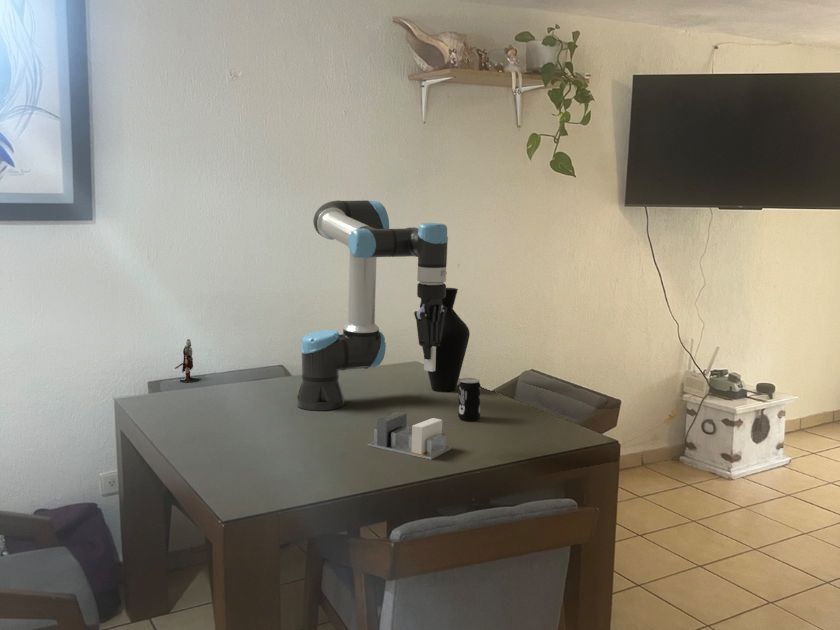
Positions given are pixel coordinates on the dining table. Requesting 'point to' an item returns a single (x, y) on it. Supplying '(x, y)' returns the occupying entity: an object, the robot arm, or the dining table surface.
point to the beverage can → (469, 399)
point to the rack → (404, 437)
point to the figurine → (187, 363)
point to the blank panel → (424, 434)
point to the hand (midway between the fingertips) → (429, 370)
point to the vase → (449, 348)
